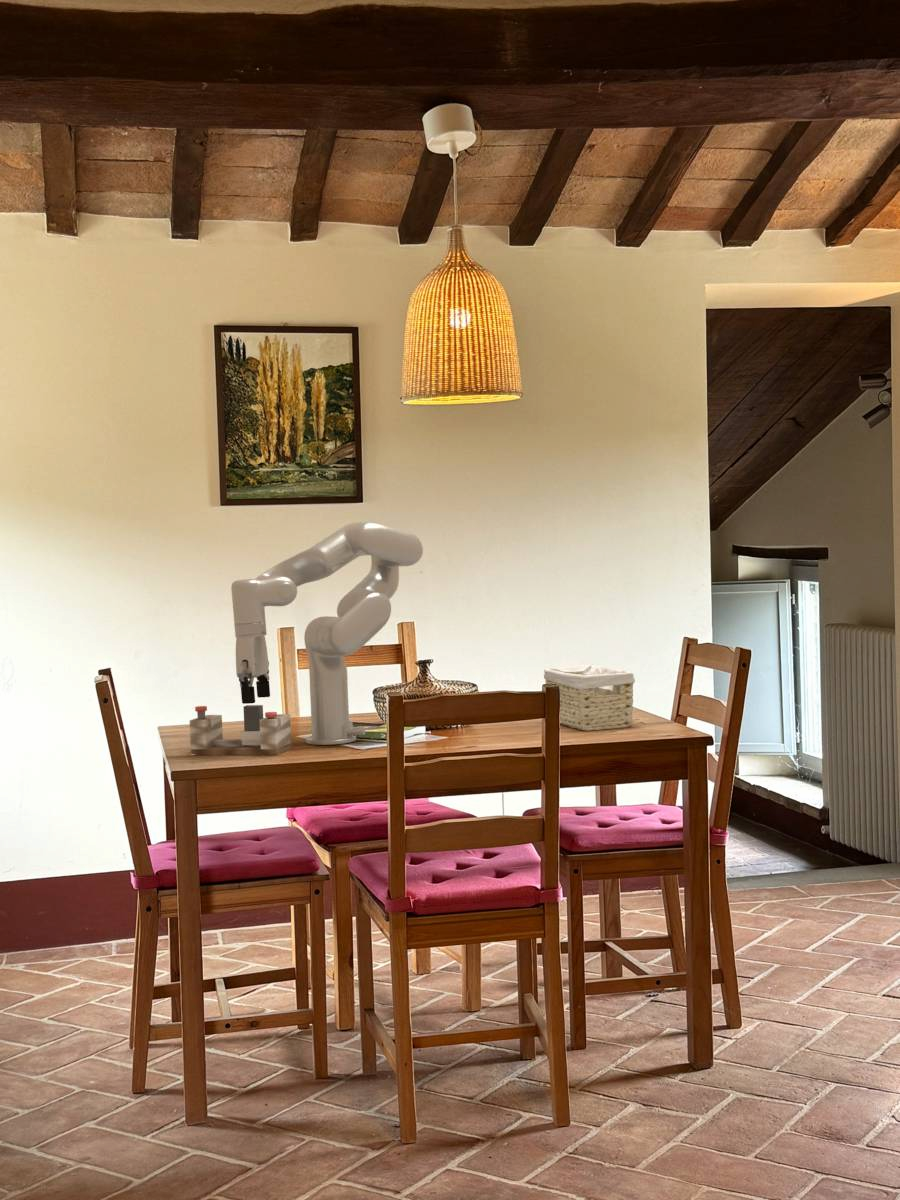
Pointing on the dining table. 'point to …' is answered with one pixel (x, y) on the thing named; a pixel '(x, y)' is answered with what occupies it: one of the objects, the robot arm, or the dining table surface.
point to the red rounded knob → (201, 712)
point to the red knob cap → (271, 715)
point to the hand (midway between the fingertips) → (256, 700)
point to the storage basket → (593, 696)
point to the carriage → (252, 724)
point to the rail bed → (211, 741)
